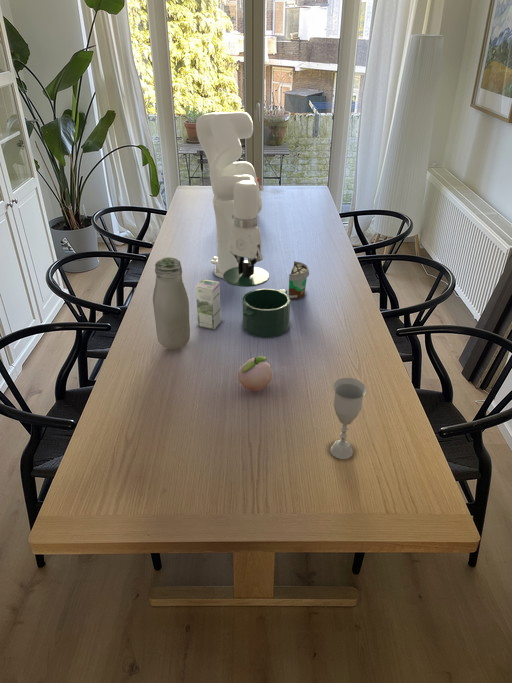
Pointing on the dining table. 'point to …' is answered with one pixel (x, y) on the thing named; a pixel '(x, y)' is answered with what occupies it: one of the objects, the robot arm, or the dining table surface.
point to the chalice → (346, 411)
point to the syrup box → (208, 304)
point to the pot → (266, 312)
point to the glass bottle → (171, 304)
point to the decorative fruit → (255, 374)
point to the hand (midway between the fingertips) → (246, 273)
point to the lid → (244, 281)
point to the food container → (298, 280)
